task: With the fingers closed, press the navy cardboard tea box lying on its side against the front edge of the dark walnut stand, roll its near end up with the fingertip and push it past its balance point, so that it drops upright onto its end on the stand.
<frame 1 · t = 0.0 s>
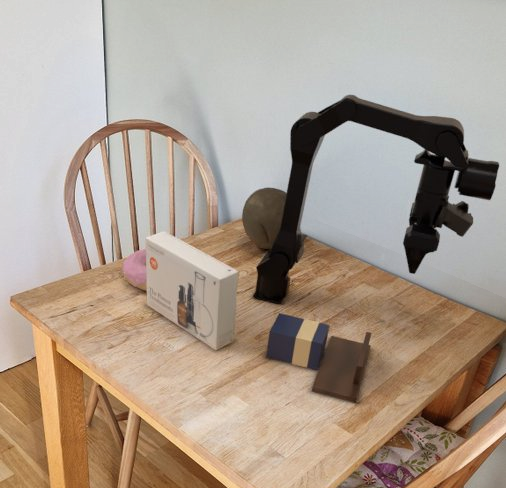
hand: (413, 263, 123), 15 cm above the table, tool pointing down, fingers open, 9 cm apart
skincare box: (187, 324, 124), on the table
tea box: (297, 341, 117), point 3 cm above the table
cantaloupe: (265, 246, 158), on the table
walnut stand: (342, 369, 115), on the table
donut: (157, 280, 138), on the table
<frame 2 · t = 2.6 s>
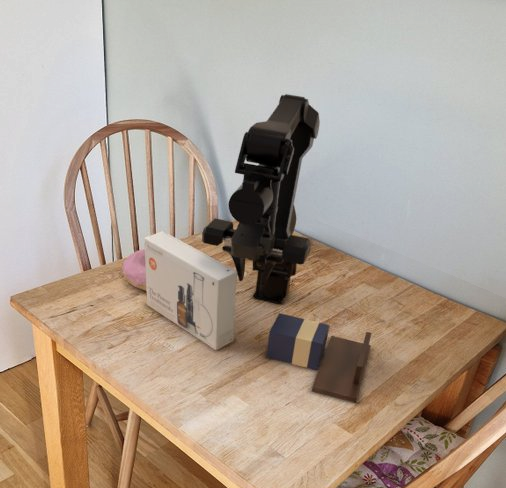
hand: (251, 282, 113), 13 cm above the table, tool pointing down, fingers open, 4 cm apart
skincare box: (187, 324, 124), on the table, touching gripper
everything else where it was.
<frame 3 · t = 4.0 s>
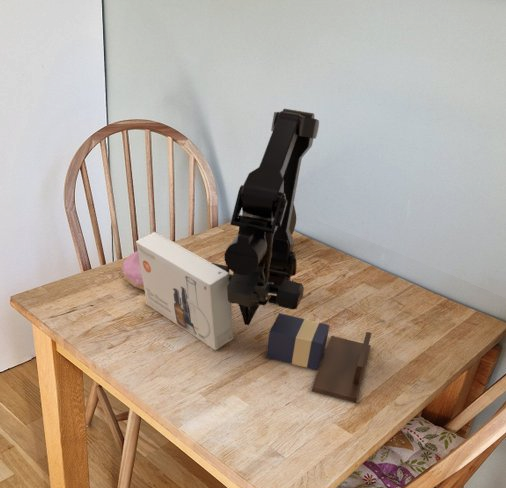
hand: (247, 324, 118), 4 cm above the table, tool pointing down, fingers closed
skincare box: (187, 323, 123), on the table
everything else where it was.
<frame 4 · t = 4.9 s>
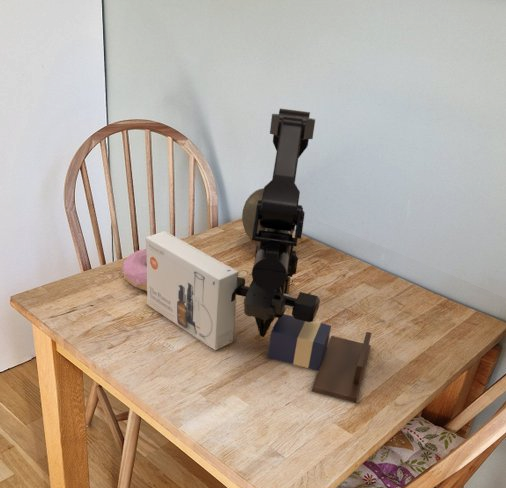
hand: (262, 335, 118), 2 cm above the table, tool pointing down, fingers closed
tea box: (299, 341, 116), point 3 cm above the table, touching gripper, walnut stand
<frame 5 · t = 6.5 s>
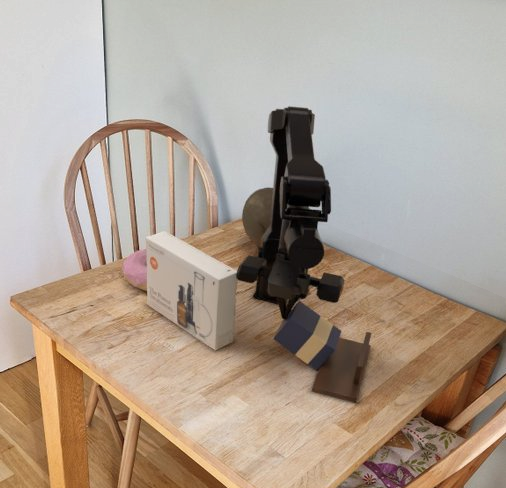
hand: (284, 318, 115), 7 cm above the table, tool pointing down, fingers closed
tea box: (307, 335, 115), point 5 cm above the table, tilted 26°, touching gripper, walnut stand
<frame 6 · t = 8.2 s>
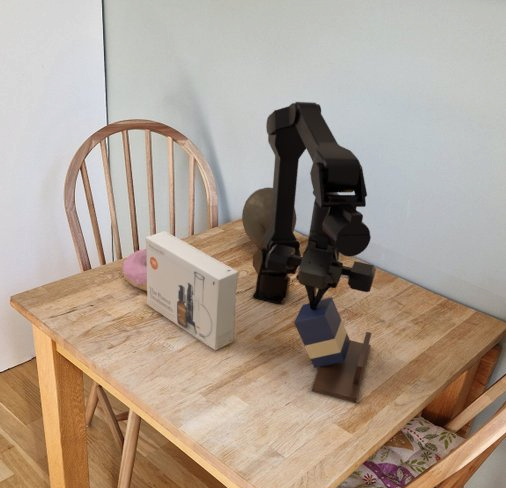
hand: (313, 308, 112), 11 cm above the table, tool pointing down, fingers closed
tea box: (323, 332, 114), point 6 cm above the table, tilted 59°, touching gripper, walnut stand
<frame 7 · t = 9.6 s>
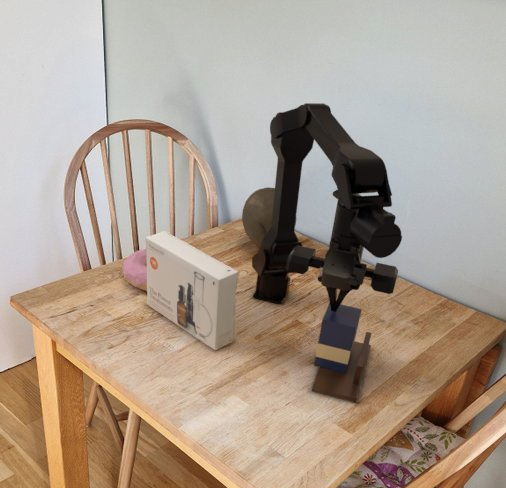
hand: (333, 310, 111), 11 cm above the table, tool pointing down, fingers closed
tea box: (337, 337, 114), point 6 cm above the table, tilted 90°, touching walnut stand
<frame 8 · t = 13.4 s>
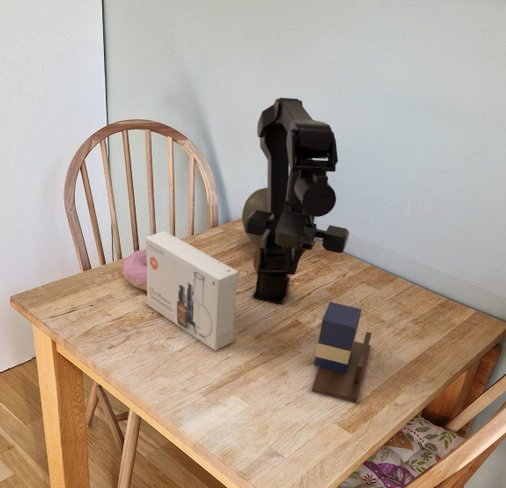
hand: (291, 271, 119), 13 cm above the table, tool pointing down, fingers closed
at the end: tea box point 6.0 cm above the table; tea box tilted 90°; tea box inside the target area (0.1 cm from its centre), point 6.0 cm above the table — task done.
